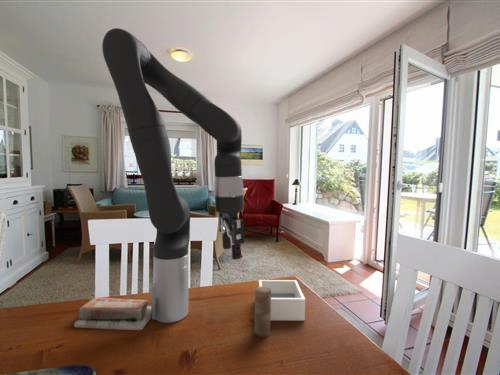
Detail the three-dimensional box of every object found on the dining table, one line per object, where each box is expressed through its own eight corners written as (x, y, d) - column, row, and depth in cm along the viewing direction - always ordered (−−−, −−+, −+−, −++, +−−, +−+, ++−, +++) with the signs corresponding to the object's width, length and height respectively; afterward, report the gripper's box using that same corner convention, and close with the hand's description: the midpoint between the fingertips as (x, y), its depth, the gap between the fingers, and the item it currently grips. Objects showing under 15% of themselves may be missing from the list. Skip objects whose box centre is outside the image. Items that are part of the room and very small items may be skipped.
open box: (260, 320, 71) (261, 299, 70) (258, 298, 83) (258, 279, 82) (304, 320, 71) (305, 299, 71) (295, 298, 83) (296, 280, 83)
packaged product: (71, 311, 66) (96, 292, 76) (72, 329, 66) (96, 308, 76) (142, 313, 65) (157, 294, 75) (142, 332, 66) (157, 310, 76)
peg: (254, 337, 64) (255, 294, 63) (254, 327, 68) (254, 286, 67) (270, 337, 64) (272, 294, 63) (269, 327, 68) (270, 286, 67)
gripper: (208, 192, 74) (211, 247, 75) (222, 197, 60) (225, 265, 62) (234, 190, 76) (236, 244, 78) (252, 195, 63) (254, 260, 65)
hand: (231, 253), depth 70 cm, fingers open, 8 cm apart
